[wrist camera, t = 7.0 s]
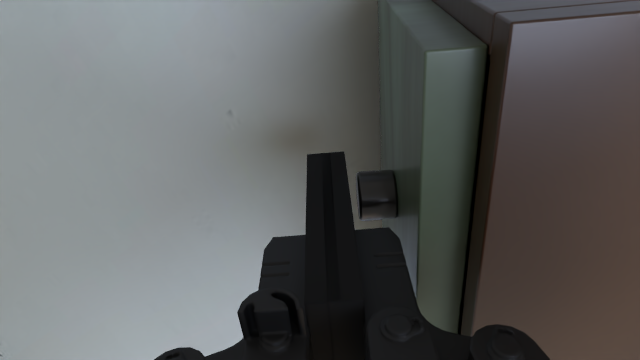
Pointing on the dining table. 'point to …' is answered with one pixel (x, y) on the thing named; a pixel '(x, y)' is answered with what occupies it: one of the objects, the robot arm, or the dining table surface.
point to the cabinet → (558, 175)
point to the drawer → (428, 148)
